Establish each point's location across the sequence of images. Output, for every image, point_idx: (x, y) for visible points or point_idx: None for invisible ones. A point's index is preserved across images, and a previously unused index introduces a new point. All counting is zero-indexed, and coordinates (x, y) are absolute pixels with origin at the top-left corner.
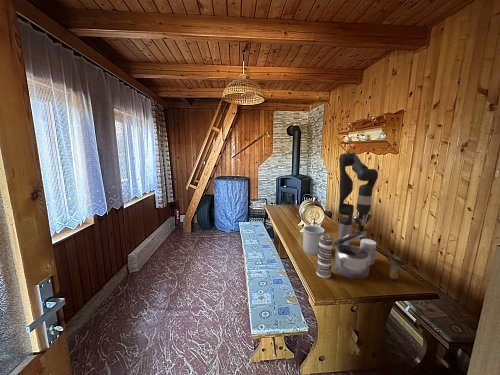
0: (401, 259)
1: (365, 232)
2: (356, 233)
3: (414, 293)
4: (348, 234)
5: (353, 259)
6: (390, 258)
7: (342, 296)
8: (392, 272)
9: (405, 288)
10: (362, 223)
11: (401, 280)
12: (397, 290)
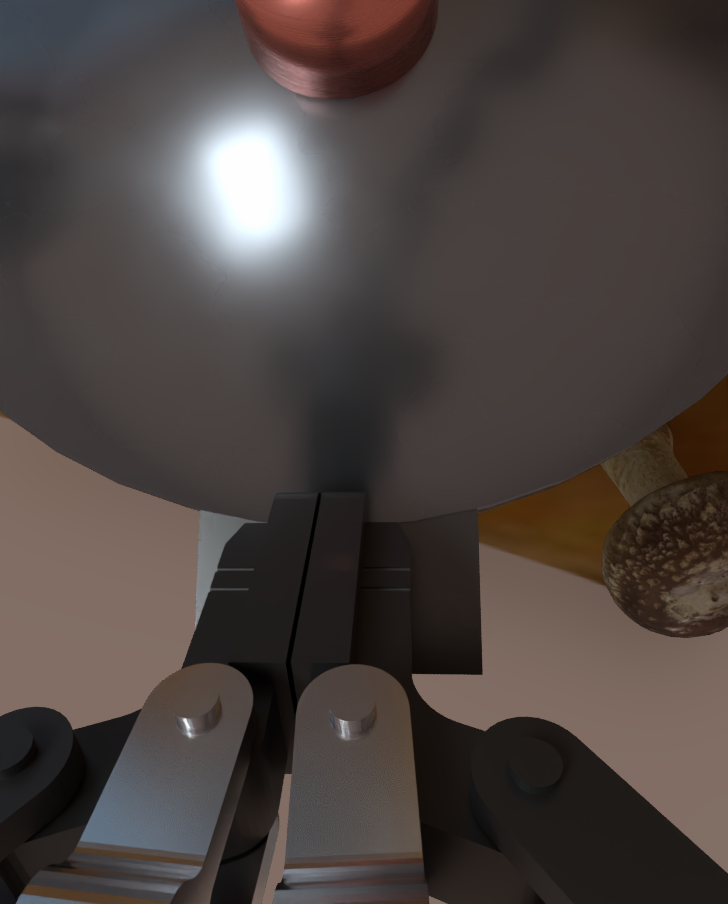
0: (714, 626)
1: (544, 489)
2: (154, 493)
3: (578, 573)
4: (264, 20)
5: None
6: (628, 563)
7: (2, 414)
8: (611, 476)
9: (584, 523)
10: (221, 885)
11: (687, 452)
12: (496, 515)
